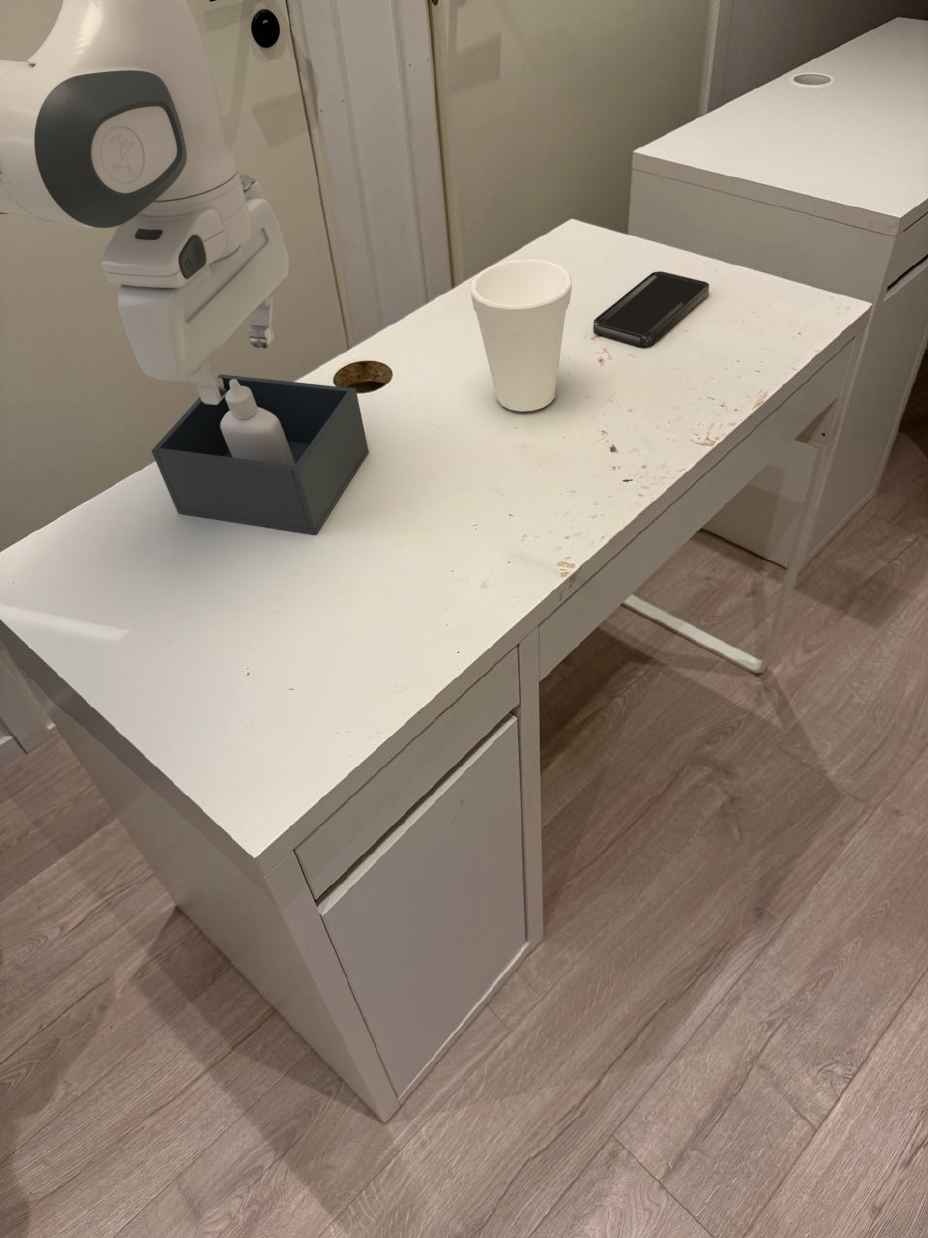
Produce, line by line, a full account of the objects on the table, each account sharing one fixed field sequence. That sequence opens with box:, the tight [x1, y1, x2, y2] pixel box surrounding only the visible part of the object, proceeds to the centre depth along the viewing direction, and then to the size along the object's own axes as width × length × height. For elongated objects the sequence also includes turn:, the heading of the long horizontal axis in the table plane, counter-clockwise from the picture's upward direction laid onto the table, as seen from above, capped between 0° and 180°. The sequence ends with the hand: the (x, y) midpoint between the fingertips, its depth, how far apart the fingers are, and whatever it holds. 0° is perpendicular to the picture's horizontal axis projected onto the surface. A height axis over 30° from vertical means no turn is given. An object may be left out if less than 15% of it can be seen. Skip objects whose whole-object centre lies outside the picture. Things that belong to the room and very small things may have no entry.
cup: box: [469, 258, 573, 412], centre depth 91 cm, size 10×10×13 cm
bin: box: [151, 373, 370, 536], centre depth 87 cm, size 15×13×8 cm
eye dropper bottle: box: [220, 379, 295, 466], centre depth 84 cm, size 4×6×12 cm
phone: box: [592, 271, 710, 348], centre depth 105 cm, size 8×1×15 cm
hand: (240, 370), depth 80 cm, fingers open, 8 cm apart
